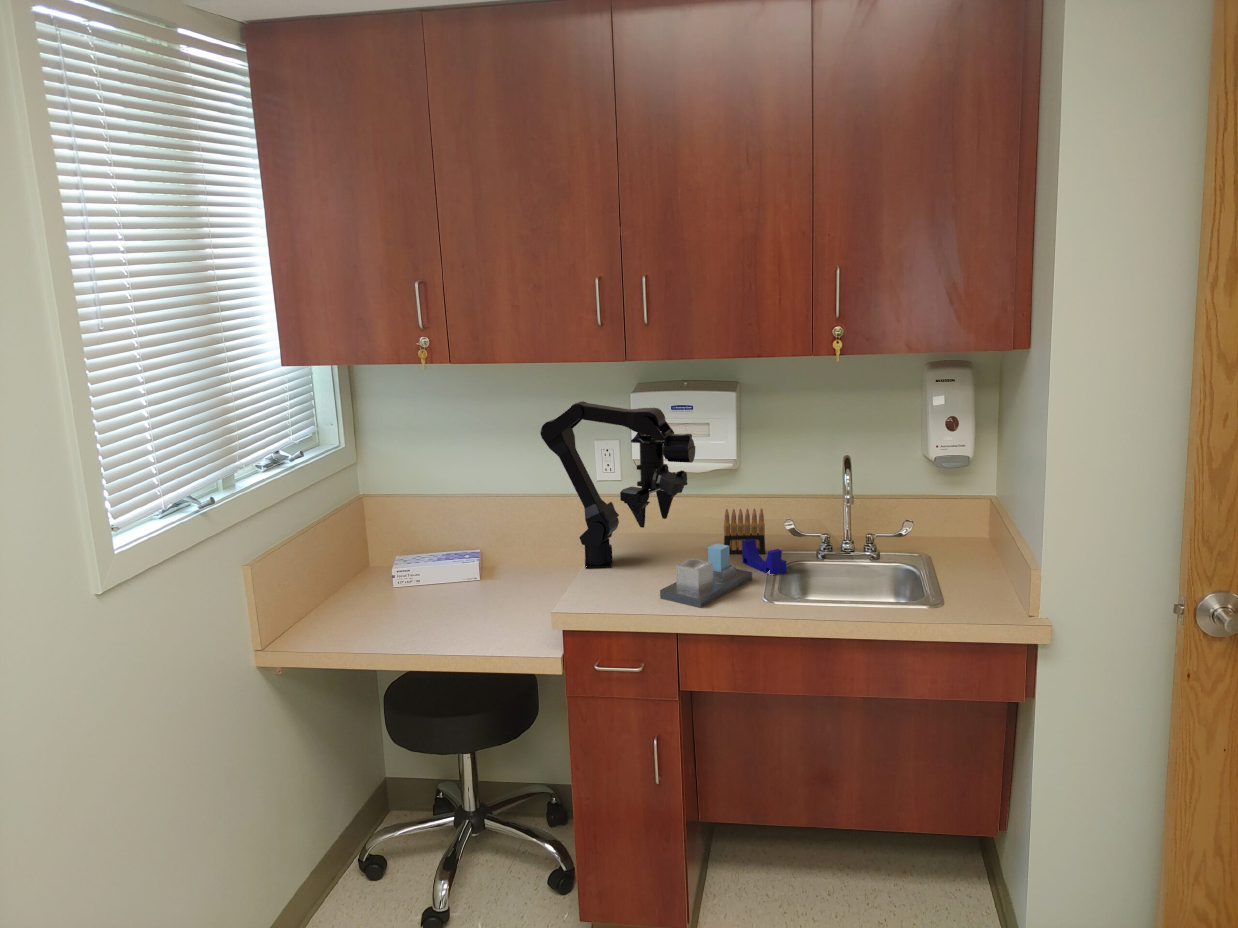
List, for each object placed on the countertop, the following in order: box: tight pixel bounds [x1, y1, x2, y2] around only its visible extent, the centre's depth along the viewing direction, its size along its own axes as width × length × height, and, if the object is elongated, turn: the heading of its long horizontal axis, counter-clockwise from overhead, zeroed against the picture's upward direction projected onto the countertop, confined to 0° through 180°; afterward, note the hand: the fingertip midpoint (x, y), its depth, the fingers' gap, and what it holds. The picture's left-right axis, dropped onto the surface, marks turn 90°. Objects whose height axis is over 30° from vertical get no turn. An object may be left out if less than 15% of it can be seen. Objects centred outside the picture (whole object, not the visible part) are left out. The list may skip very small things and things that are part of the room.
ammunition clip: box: [723, 507, 766, 556], centre depth 252 cm, size 11×2×12 cm, turn 86°
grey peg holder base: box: [659, 557, 753, 609], centre depth 227 cm, size 22×11×8 cm, turn 142°
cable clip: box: [741, 539, 788, 576], centre depth 241 cm, size 12×4×6 cm, turn 28°
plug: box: [707, 543, 730, 571], centre depth 230 cm, size 4×4×7 cm
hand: (653, 522), depth 240 cm, fingers open, 9 cm apart
